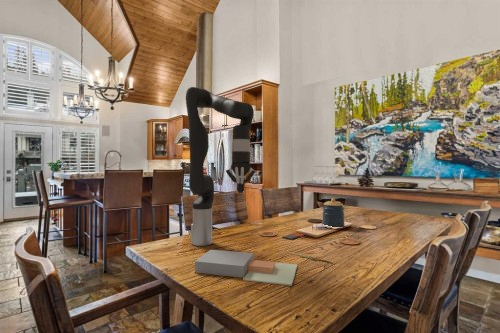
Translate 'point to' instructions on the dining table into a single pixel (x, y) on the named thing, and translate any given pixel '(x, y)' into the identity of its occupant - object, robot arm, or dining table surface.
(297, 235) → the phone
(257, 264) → the block
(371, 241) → the dining table surface
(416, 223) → the dining table surface
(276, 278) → the mat
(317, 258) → the sword
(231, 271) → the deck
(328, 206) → the lidded jar
